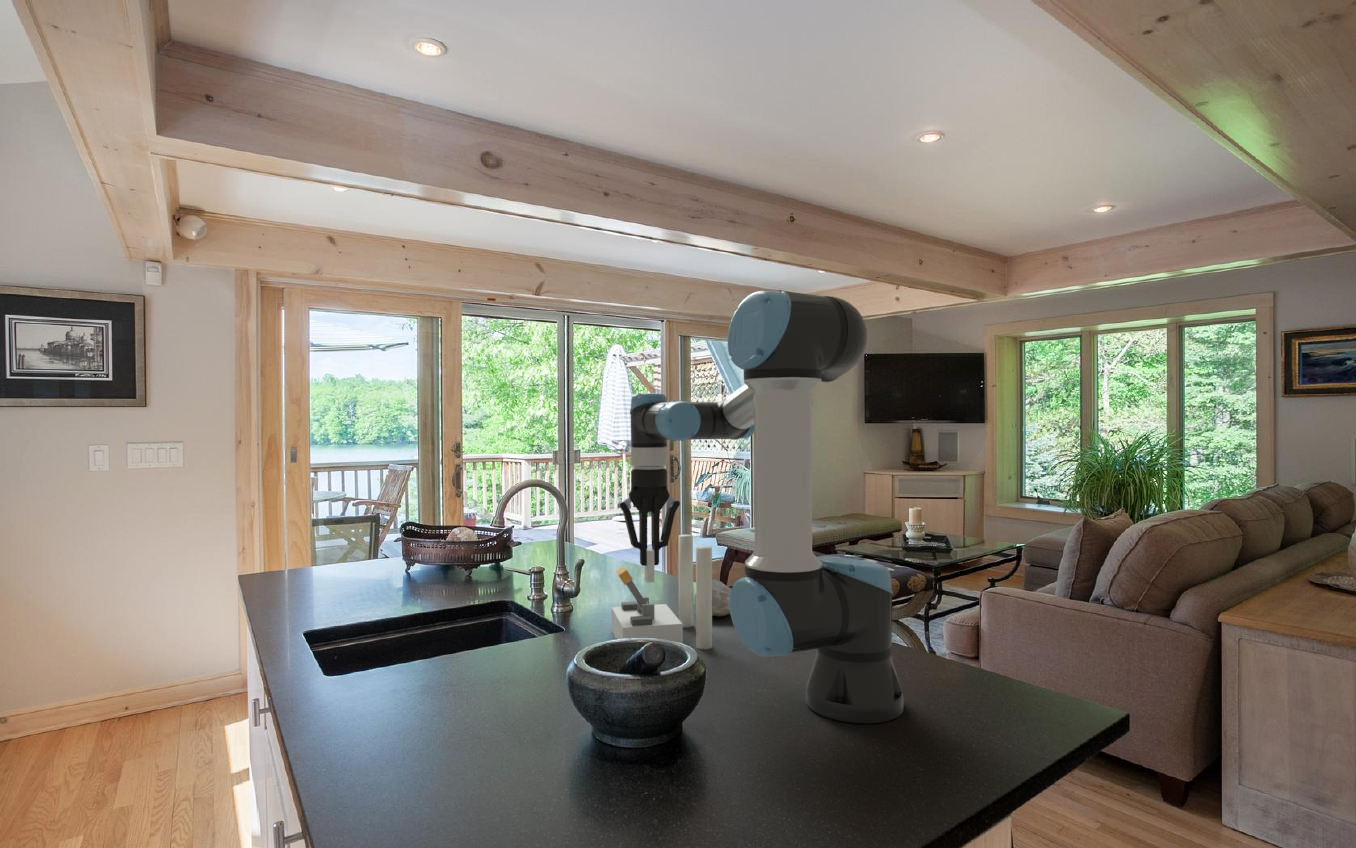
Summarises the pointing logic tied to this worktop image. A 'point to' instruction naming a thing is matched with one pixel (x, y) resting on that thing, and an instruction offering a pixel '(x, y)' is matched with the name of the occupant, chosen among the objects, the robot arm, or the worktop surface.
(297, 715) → the worktop surface
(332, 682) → the worktop surface
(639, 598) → the breaker lever
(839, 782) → the worktop surface
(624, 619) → the panel
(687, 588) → the post far
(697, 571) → the post near
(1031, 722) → the worktop surface
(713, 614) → the seashell
